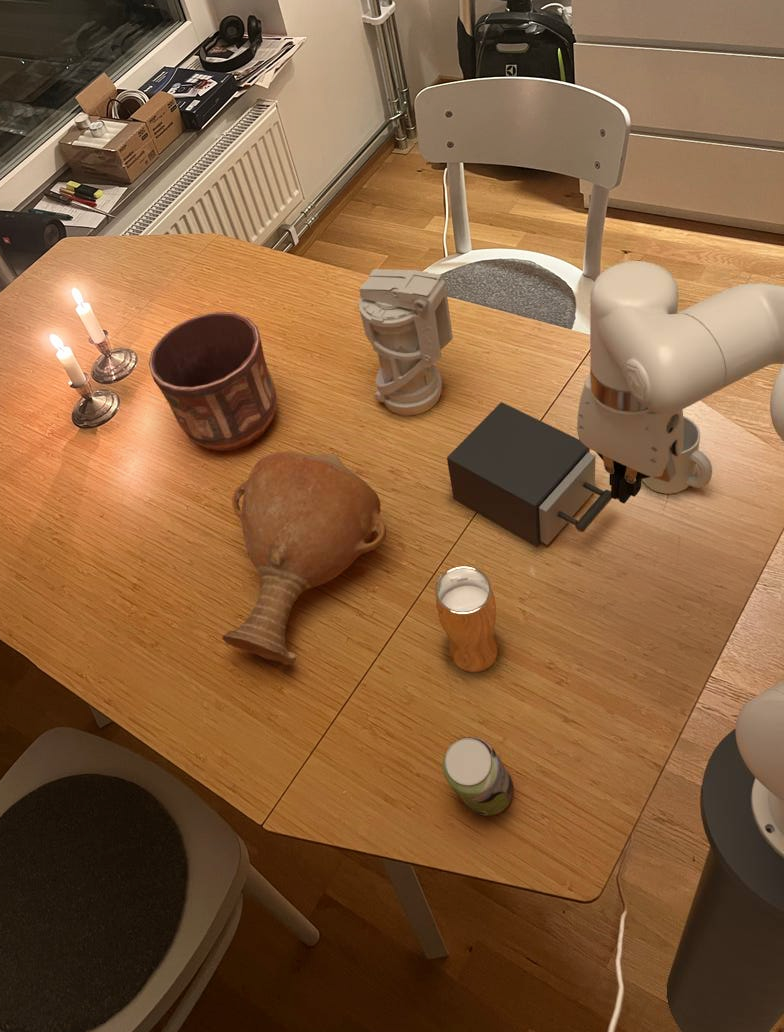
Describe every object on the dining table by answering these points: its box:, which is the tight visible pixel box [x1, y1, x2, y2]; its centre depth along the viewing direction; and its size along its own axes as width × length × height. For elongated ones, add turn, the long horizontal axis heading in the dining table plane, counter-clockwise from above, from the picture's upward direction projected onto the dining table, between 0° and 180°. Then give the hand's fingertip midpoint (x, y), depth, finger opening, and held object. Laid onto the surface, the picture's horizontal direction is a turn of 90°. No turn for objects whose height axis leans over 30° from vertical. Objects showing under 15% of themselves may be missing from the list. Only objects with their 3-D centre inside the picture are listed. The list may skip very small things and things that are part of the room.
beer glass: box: [434, 565, 499, 673], centre depth 112 cm, size 7×7×15 cm
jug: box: [222, 451, 387, 665], centre depth 124 cm, size 20×19×30 cm
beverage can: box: [442, 736, 514, 817], centre depth 101 cm, size 6×7×12 cm
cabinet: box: [446, 401, 591, 548], centre depth 129 cm, size 15×13×10 cm
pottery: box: [148, 311, 278, 452], centre depth 148 cm, size 18×18×18 cm
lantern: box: [358, 268, 454, 417], centre depth 140 cm, size 13×10×25 cm
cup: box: [642, 415, 713, 495], centre depth 125 cm, size 7×10×9 cm
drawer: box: [538, 452, 613, 546], centre depth 126 cm, size 18×11×8 cm, turn 45°
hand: (624, 492), depth 103 cm, fingers closed
